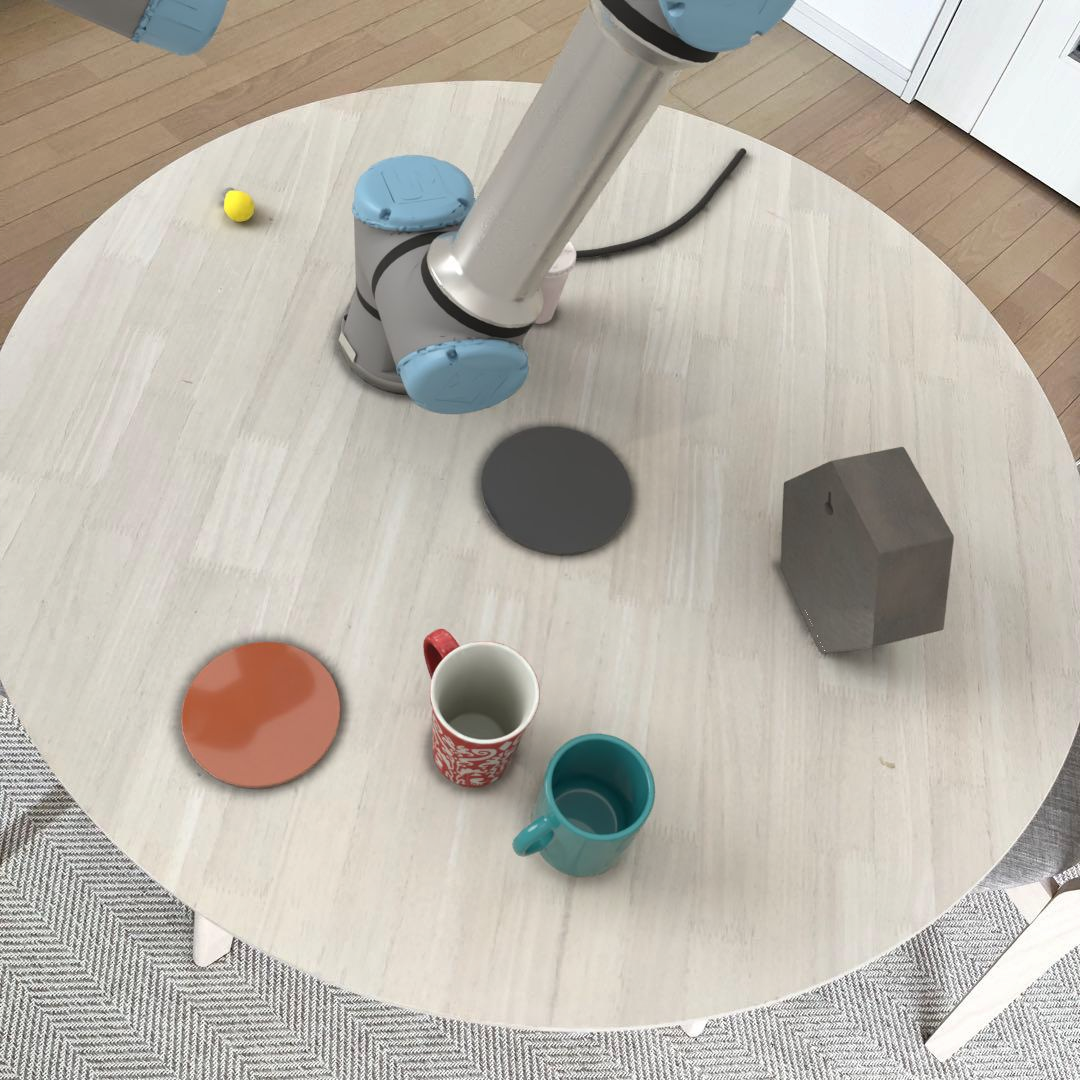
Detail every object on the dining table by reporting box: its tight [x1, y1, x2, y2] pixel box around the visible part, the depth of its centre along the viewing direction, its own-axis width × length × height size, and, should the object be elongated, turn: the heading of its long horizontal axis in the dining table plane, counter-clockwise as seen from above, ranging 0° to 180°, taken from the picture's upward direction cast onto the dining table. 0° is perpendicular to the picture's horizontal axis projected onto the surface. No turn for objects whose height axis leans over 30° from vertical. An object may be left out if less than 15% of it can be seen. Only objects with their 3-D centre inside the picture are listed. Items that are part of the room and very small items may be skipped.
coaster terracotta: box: [180, 641, 341, 789], centre depth 102 cm, size 14×14×1 cm
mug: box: [422, 628, 541, 788], centre depth 98 cm, size 13×9×14 cm
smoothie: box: [534, 240, 577, 325], centre depth 126 cm, size 6×6×14 cm
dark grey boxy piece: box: [780, 446, 955, 654], centre depth 109 cm, size 17×8×21 cm
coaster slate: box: [480, 425, 633, 556], centre depth 119 cm, size 16×16×1 cm
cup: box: [511, 733, 656, 878], centre depth 95 cm, size 9×12×11 cm
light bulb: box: [223, 187, 255, 223], centre depth 134 cm, size 3×6×4 cm, turn 27°
